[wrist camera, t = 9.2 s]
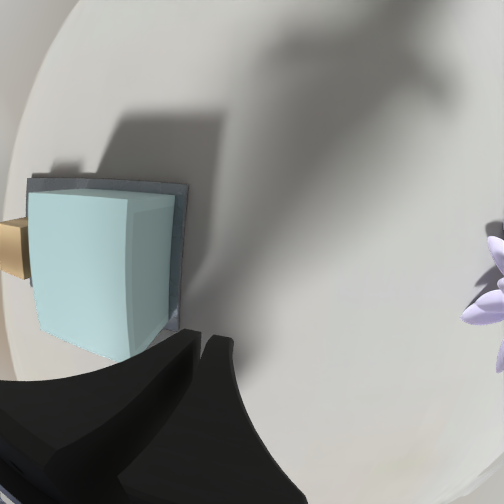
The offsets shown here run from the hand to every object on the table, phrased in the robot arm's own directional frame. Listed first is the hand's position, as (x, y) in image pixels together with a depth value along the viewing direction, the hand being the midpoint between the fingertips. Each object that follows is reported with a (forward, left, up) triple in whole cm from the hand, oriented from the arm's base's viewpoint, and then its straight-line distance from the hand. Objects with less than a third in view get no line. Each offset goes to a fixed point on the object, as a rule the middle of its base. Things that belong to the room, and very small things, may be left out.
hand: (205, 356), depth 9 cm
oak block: (+18, 0, -10) cm, 21 cm away
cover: (+9, 0, -10) cm, 14 cm away
